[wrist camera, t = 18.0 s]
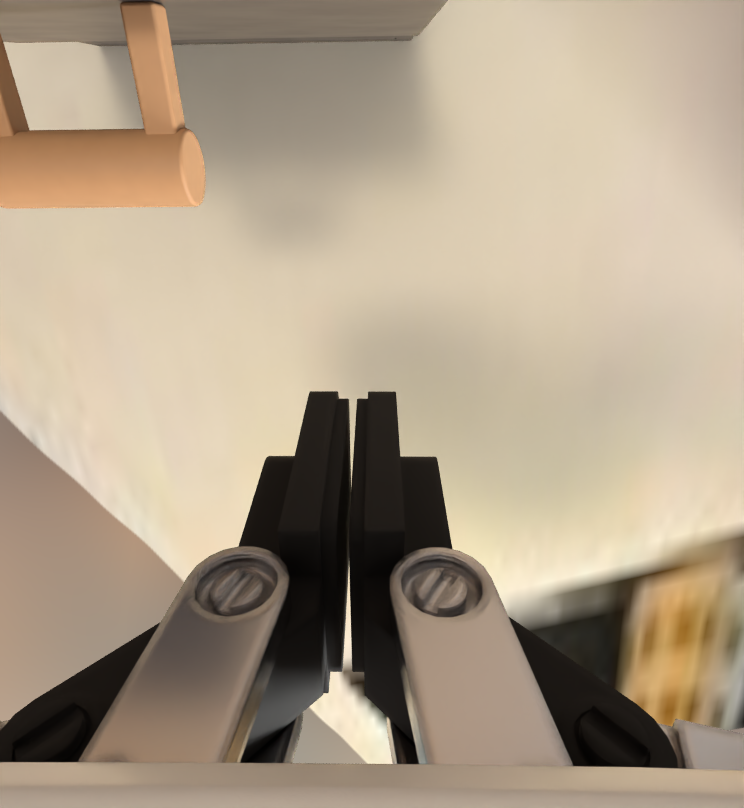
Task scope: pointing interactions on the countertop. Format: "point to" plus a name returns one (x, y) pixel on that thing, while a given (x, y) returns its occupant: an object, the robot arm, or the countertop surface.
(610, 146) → the countertop surface
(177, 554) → the countertop surface
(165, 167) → the lid
